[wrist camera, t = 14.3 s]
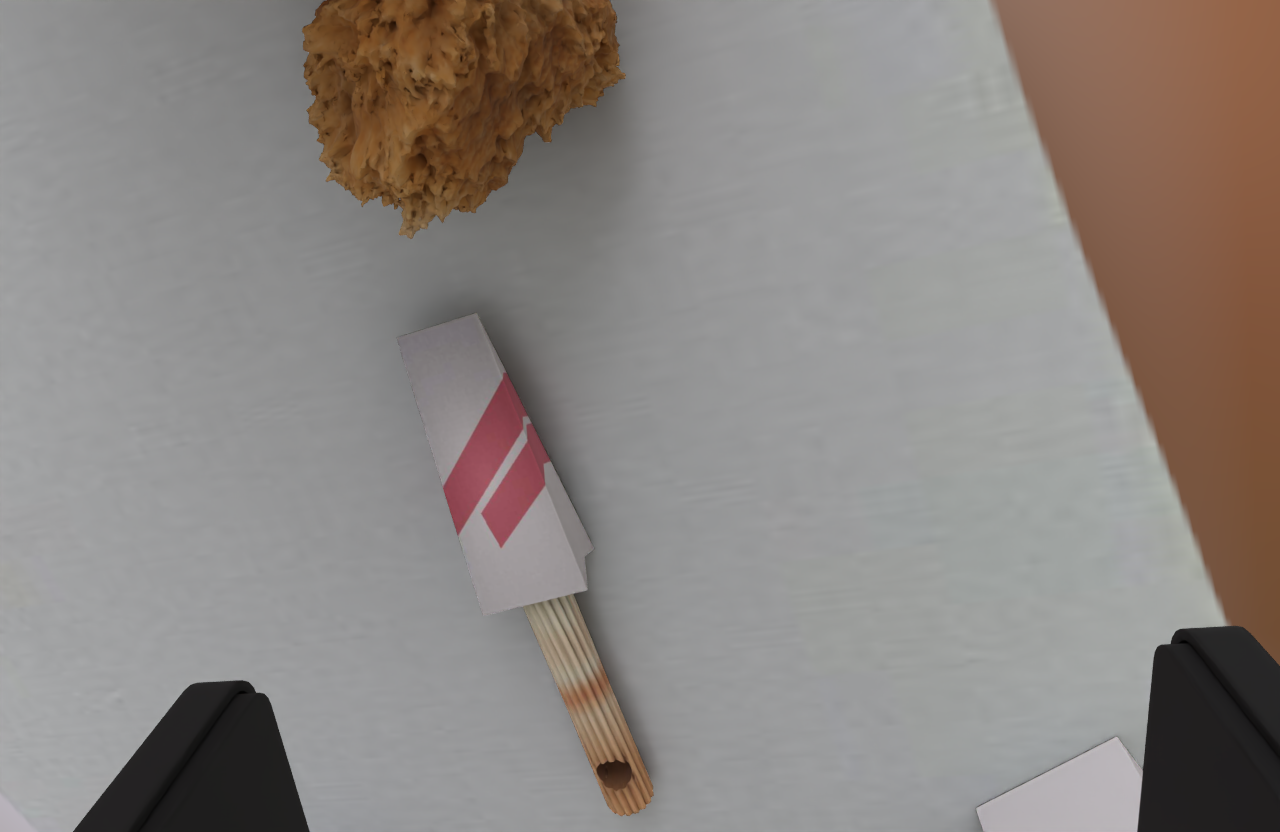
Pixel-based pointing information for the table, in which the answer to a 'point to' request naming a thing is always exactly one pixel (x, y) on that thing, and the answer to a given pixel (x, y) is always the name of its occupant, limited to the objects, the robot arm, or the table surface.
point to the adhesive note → (1073, 796)
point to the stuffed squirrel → (448, 92)
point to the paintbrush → (519, 532)
